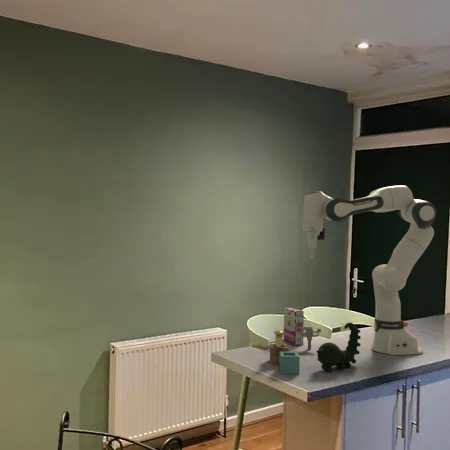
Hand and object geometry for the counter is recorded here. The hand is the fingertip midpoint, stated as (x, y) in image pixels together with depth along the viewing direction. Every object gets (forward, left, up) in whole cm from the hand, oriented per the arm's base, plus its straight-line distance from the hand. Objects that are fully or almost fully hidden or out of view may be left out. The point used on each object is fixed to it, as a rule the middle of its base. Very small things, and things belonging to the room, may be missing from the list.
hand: (311, 258), depth 241 cm
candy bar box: (+6, -18, -43) cm, 47 cm away
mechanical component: (0, -6, -43) cm, 43 cm away
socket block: (+13, +29, -43) cm, 53 cm away
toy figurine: (-7, +24, -43) cm, 50 cm away
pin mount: (+16, +16, -43) cm, 48 cm away
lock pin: (+16, +16, -43) cm, 48 cm away
